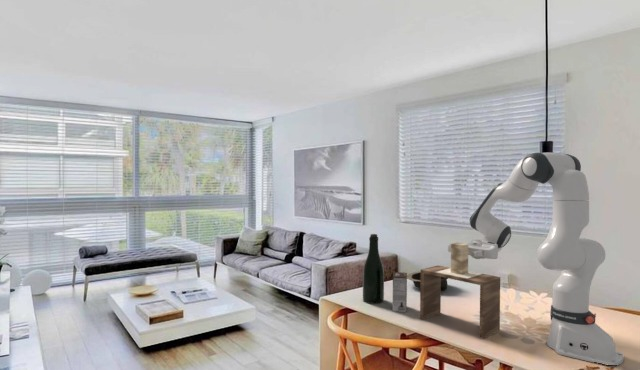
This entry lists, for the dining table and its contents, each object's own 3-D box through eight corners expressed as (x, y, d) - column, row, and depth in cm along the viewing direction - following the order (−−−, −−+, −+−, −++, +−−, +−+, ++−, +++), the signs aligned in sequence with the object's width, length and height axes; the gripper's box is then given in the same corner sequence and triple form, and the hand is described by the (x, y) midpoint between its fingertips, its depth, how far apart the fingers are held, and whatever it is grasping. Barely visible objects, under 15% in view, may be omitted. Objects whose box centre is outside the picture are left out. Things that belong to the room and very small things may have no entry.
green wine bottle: (360, 302, 192) (361, 235, 191) (364, 296, 202) (364, 232, 201) (382, 304, 189) (383, 235, 189) (385, 298, 199) (385, 233, 199)
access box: (499, 329, 158) (500, 276, 158) (483, 338, 149) (484, 282, 149) (437, 311, 179) (437, 264, 179) (420, 318, 170) (420, 269, 170)
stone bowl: (462, 288, 218) (461, 272, 217) (431, 299, 204) (431, 282, 203) (426, 278, 238) (426, 263, 237) (396, 287, 224) (396, 271, 223)
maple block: (468, 272, 164) (468, 244, 164) (461, 274, 161) (462, 245, 160) (456, 270, 168) (457, 242, 168) (450, 272, 164) (451, 243, 164)
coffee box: (392, 305, 189) (393, 271, 188) (406, 306, 187) (406, 272, 187) (392, 311, 180) (392, 276, 179) (406, 312, 178) (407, 277, 178)
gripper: (456, 238, 183) (440, 241, 173) (501, 244, 167) (486, 248, 158) (456, 252, 183) (440, 256, 174) (501, 259, 167) (485, 263, 158)
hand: (462, 252), depth 166 cm, fingers open, 8 cm apart
